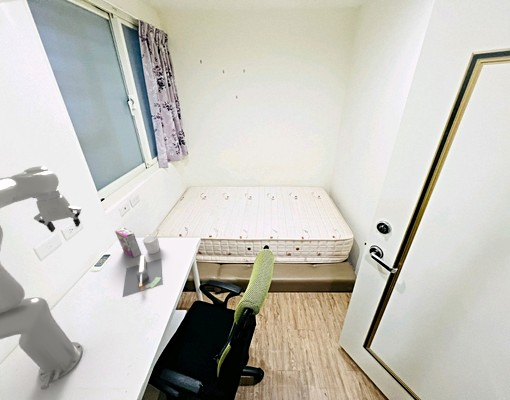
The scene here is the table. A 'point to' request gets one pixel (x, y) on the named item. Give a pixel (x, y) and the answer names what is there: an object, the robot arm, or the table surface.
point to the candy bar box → (128, 242)
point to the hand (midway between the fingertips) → (66, 227)
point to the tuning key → (142, 271)
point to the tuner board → (154, 280)
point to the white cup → (151, 243)
